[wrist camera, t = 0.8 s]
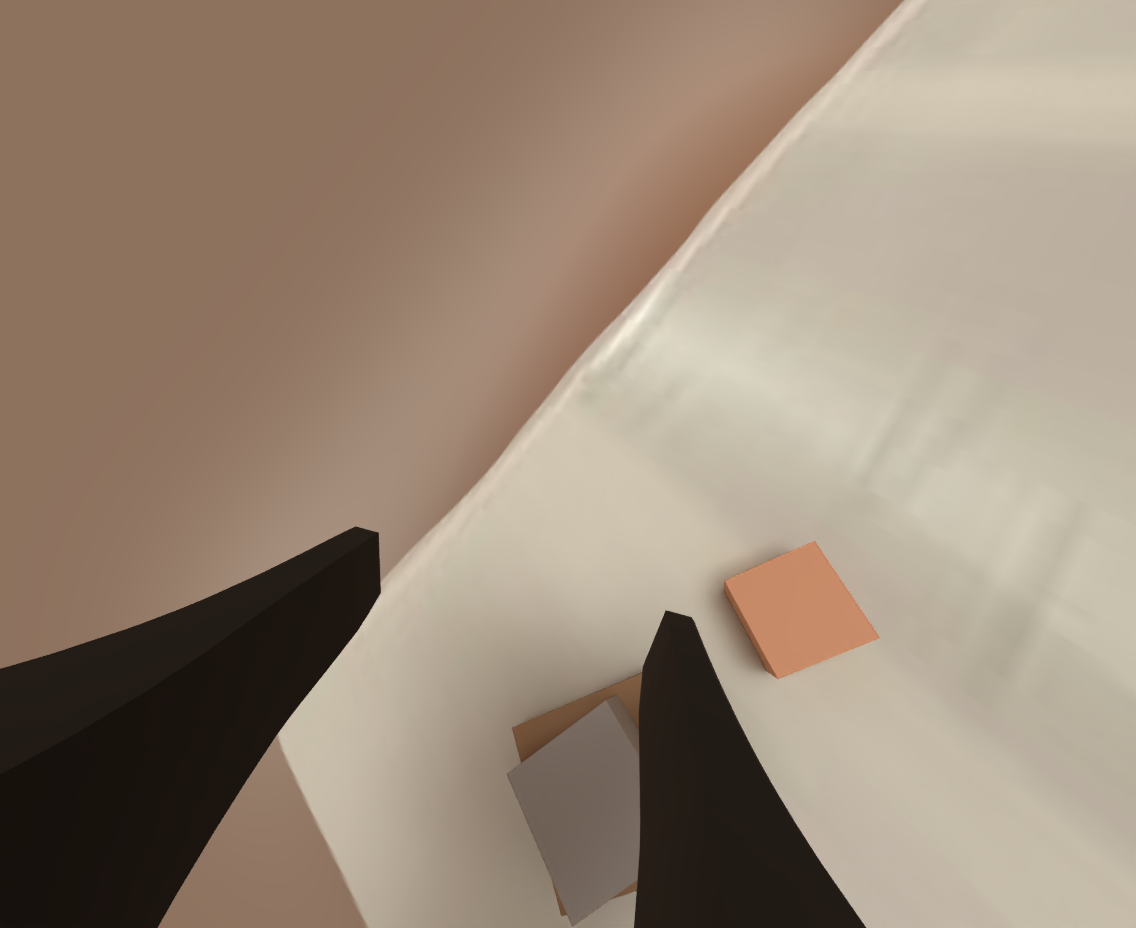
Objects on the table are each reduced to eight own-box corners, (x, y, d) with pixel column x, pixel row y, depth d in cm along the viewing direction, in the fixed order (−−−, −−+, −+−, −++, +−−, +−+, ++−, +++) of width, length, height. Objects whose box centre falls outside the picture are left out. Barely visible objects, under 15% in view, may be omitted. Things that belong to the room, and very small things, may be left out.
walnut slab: (721, 838, 21) (721, 861, 19) (577, 888, 22) (561, 916, 20) (651, 669, 25) (644, 672, 23) (530, 720, 26) (511, 727, 24)
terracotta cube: (851, 638, 22) (879, 637, 18) (768, 672, 23) (778, 678, 19) (799, 557, 24) (814, 540, 20) (724, 590, 25) (724, 580, 21)
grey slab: (693, 820, 20) (688, 842, 18) (589, 895, 20) (572, 926, 18) (617, 694, 23) (605, 700, 21) (527, 761, 23) (506, 774, 21)
